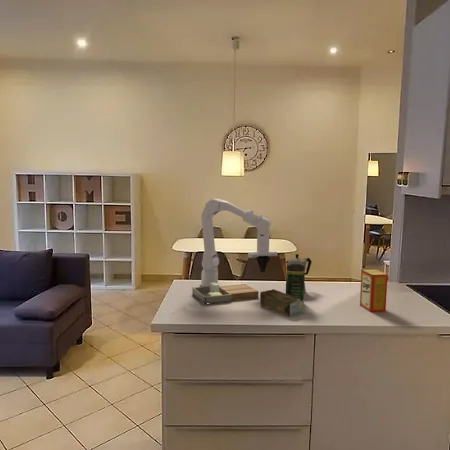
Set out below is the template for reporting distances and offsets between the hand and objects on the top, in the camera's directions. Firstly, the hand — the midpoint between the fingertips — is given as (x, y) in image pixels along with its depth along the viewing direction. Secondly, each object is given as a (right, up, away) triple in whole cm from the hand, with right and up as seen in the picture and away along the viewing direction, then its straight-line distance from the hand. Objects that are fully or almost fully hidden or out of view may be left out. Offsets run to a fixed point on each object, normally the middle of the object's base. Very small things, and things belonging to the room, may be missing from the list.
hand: (262, 271), depth 199 cm
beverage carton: (+6, -13, -25) cm, 29 cm away
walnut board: (-12, -10, -5) cm, 16 cm away
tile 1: (-23, -7, -6) cm, 25 cm away
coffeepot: (+18, -10, +5) cm, 21 cm away
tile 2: (-22, -9, -14) cm, 28 cm away
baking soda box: (+44, -13, -23) cm, 51 cm away
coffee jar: (+13, -12, -16) cm, 24 cm away
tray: (-24, -11, -10) cm, 28 cm away
